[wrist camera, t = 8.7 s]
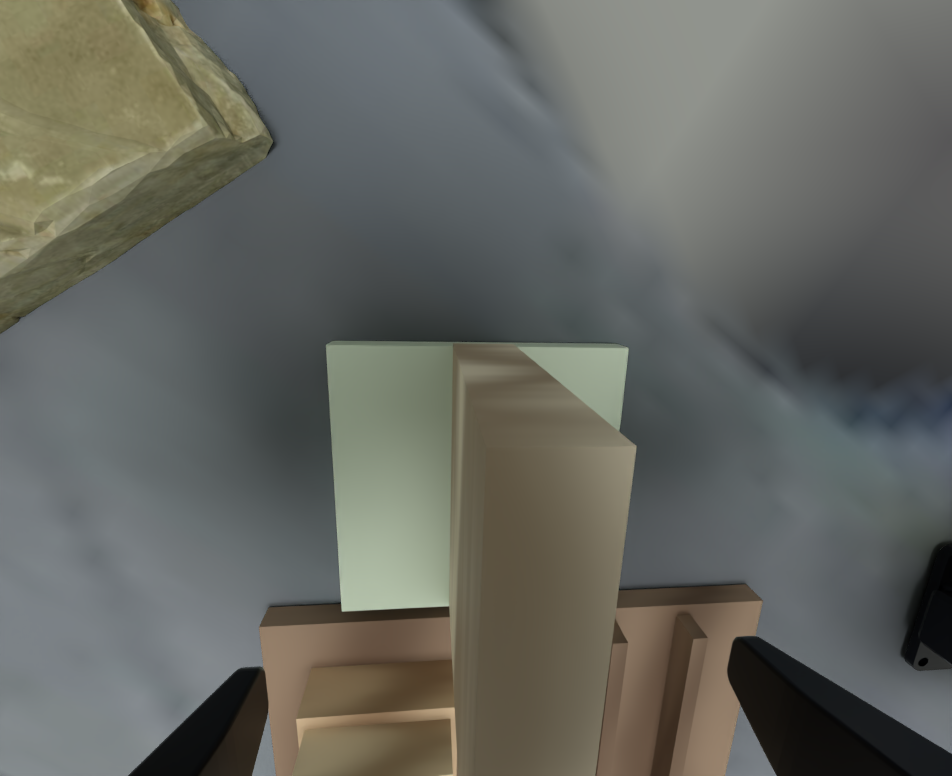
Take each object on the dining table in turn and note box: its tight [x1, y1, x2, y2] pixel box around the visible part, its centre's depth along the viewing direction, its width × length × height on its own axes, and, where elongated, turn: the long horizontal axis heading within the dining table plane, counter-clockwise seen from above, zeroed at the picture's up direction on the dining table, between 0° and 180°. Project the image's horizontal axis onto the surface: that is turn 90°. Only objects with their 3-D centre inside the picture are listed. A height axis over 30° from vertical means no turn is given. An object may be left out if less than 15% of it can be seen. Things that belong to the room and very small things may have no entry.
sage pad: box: [326, 341, 629, 612], centre depth 16 cm, size 10×10×1 cm
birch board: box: [449, 343, 637, 776], centre depth 11 cm, size 2×10×9 cm, turn 178°
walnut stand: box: [259, 584, 763, 776], centre depth 19 cm, size 20×13×2 cm, turn 88°
